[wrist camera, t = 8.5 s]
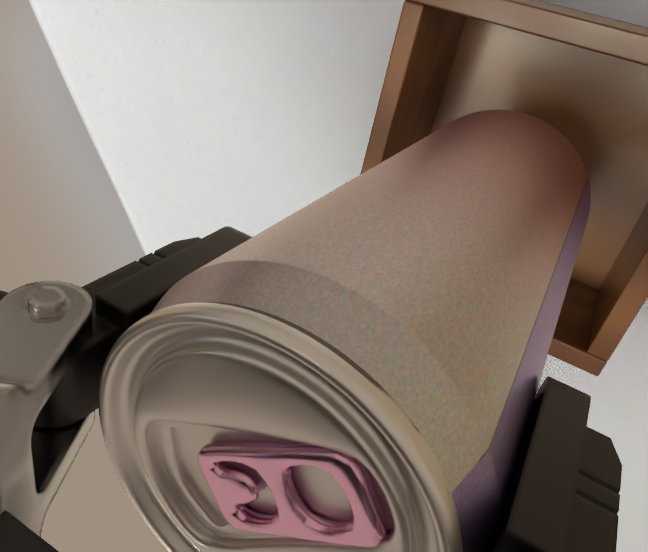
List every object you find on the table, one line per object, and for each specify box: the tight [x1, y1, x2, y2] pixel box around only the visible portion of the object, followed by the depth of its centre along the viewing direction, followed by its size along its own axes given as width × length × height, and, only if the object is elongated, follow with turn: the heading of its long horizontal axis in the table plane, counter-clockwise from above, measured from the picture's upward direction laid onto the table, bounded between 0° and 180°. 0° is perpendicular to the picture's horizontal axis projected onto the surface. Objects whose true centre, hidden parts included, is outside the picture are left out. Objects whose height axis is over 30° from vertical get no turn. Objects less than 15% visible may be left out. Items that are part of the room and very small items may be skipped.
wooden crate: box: [360, 0, 648, 376], centre depth 23 cm, size 12×12×7 cm
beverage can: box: [98, 110, 591, 552], centre depth 13 cm, size 6×6×15 cm
